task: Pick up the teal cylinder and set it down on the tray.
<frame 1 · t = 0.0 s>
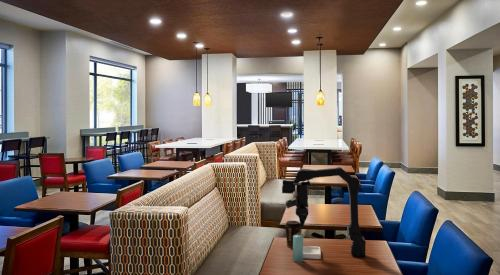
hand: (301, 224, 205), 15 cm above the table, tool pointing down, fingers open, 9 cm apart
coffee cup: (293, 246, 216), on the table
tray: (308, 254, 204), on the table
teal cylinder: (297, 260, 194), on the table
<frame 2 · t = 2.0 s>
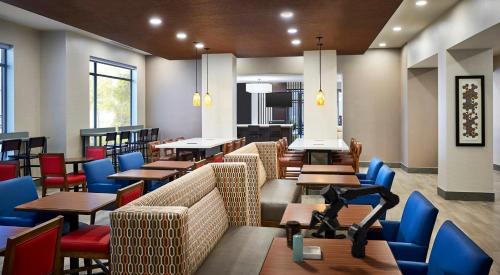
hand: (312, 232, 195), 13 cm above the table, tool tilted 45°, fingers open, 9 cm apart
nothing on the table moved.
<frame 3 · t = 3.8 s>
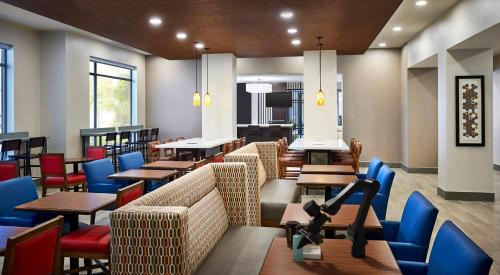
hand: (295, 247, 194), 7 cm above the table, tool tilted 45°, fingers closed on teal cylinder, 5 cm apart
teal cylinder: (297, 260, 194), on the table, touching gripper
everything else where it was.
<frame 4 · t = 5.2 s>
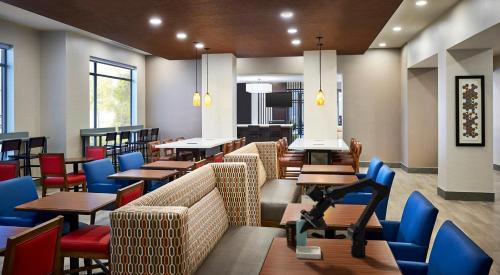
hand: (298, 231, 197), 13 cm above the table, tool tilted 45°, fingers closed on teal cylinder, 5 cm apart
teal cylinder: (301, 244, 197), point 7 cm above the table, touching gripper
everything else where it was.
when the fingers open (9 cm above the table, at t = 6.8 s): teal cylinder drops 1 cm, resting on tray.
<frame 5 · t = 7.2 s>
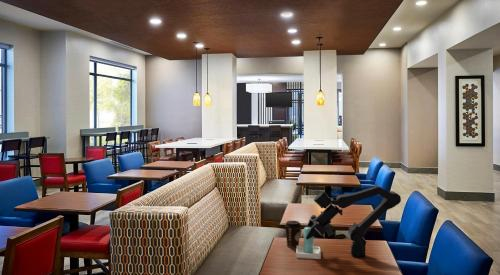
hand: (305, 236, 203), 9 cm above the table, tool tilted 45°, fingers open, 9 cm apart
teal cylinder: (308, 251, 203), point 1 cm above the table, touching tray
everything else where it was.
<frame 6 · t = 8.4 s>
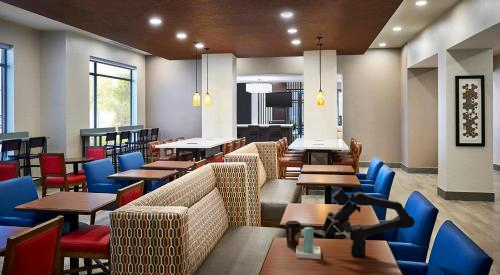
hand: (323, 233, 203), 11 cm above the table, tool tilted 45°, fingers open, 9 cm apart
nothing on the table moved.
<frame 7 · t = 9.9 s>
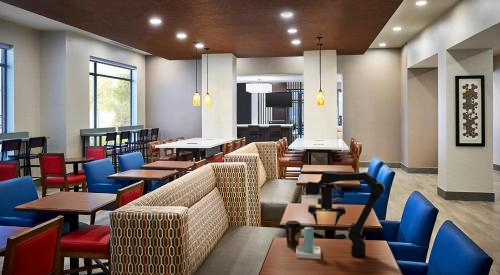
hand: (326, 226, 207), 13 cm above the table, tool pointing down, fingers open, 9 cm apart
nothing on the table moved.
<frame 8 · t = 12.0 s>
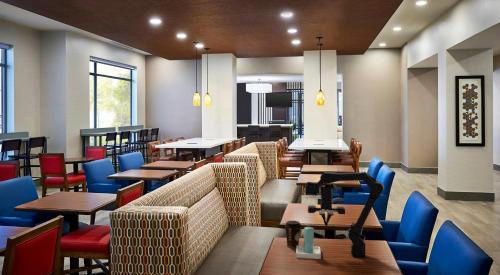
hand: (326, 226, 208), 13 cm above the table, tool pointing down, fingers closed
nothing on the table moved.
at the end: teal cylinder inside the target area on the tray (0.1 cm from its centre), point 1.2 cm above the tray's base; teal cylinder tilted 1°; the gripper is holding nothing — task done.
